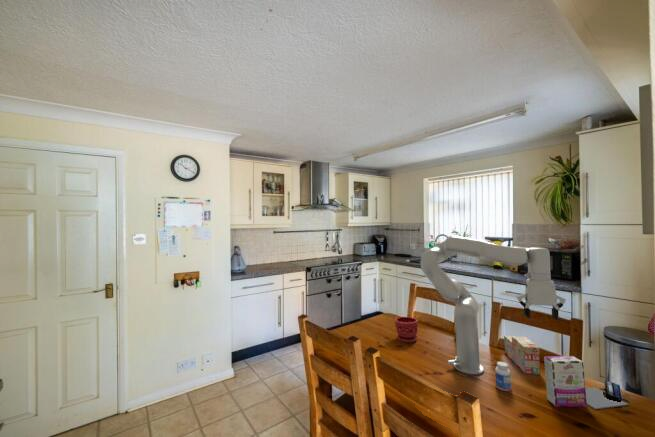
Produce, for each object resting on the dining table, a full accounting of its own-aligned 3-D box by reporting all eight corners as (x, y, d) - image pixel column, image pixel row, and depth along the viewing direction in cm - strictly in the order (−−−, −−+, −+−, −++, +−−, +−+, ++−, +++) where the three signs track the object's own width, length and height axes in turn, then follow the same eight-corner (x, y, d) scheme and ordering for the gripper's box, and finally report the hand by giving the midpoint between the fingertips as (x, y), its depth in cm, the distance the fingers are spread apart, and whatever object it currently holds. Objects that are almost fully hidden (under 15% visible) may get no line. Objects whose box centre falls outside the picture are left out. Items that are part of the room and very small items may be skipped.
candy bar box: (575, 399, 106) (573, 355, 107) (587, 407, 101) (584, 361, 102) (545, 398, 107) (543, 355, 108) (555, 407, 102) (553, 361, 103)
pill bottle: (492, 384, 118) (491, 361, 118) (504, 383, 118) (503, 360, 118) (502, 391, 112) (500, 367, 113) (514, 390, 113) (513, 366, 113)
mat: (595, 409, 100) (595, 408, 100) (565, 392, 111) (565, 390, 111) (628, 405, 102) (628, 404, 102) (595, 388, 113) (595, 387, 113)
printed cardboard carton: (504, 353, 146) (503, 329, 147) (517, 353, 145) (516, 329, 146) (525, 373, 126) (523, 346, 126) (540, 375, 124) (539, 347, 125)
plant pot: (420, 337, 169) (420, 317, 170) (414, 345, 158) (414, 324, 159) (399, 333, 176) (399, 314, 177) (392, 341, 165) (392, 320, 166)
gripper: (519, 277, 116) (520, 319, 116) (568, 279, 111) (570, 322, 111) (512, 274, 123) (514, 313, 123) (559, 276, 119) (561, 316, 118)
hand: (541, 317), depth 117 cm, fingers open, 9 cm apart
